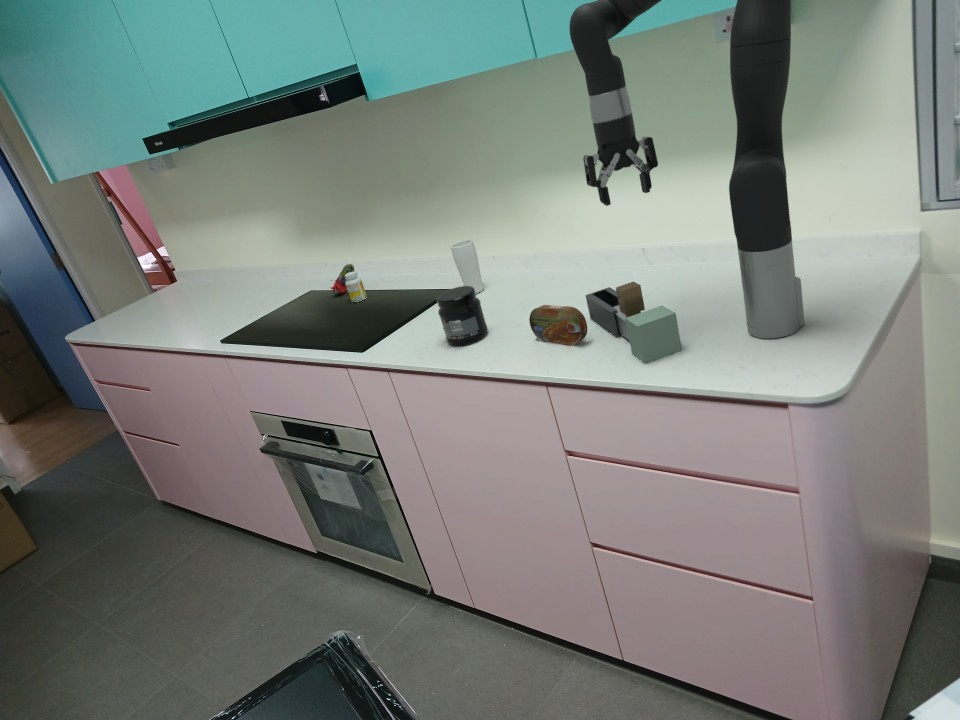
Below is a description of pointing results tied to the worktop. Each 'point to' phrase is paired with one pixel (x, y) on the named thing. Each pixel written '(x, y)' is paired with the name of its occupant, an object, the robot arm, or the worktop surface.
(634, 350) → the green block
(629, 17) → the robot arm
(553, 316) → the tin
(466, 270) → the drinking glass
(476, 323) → the supplement container
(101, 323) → the worktop surface
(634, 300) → the slider with block handle
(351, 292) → the supplement bottle
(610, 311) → the sleeve
